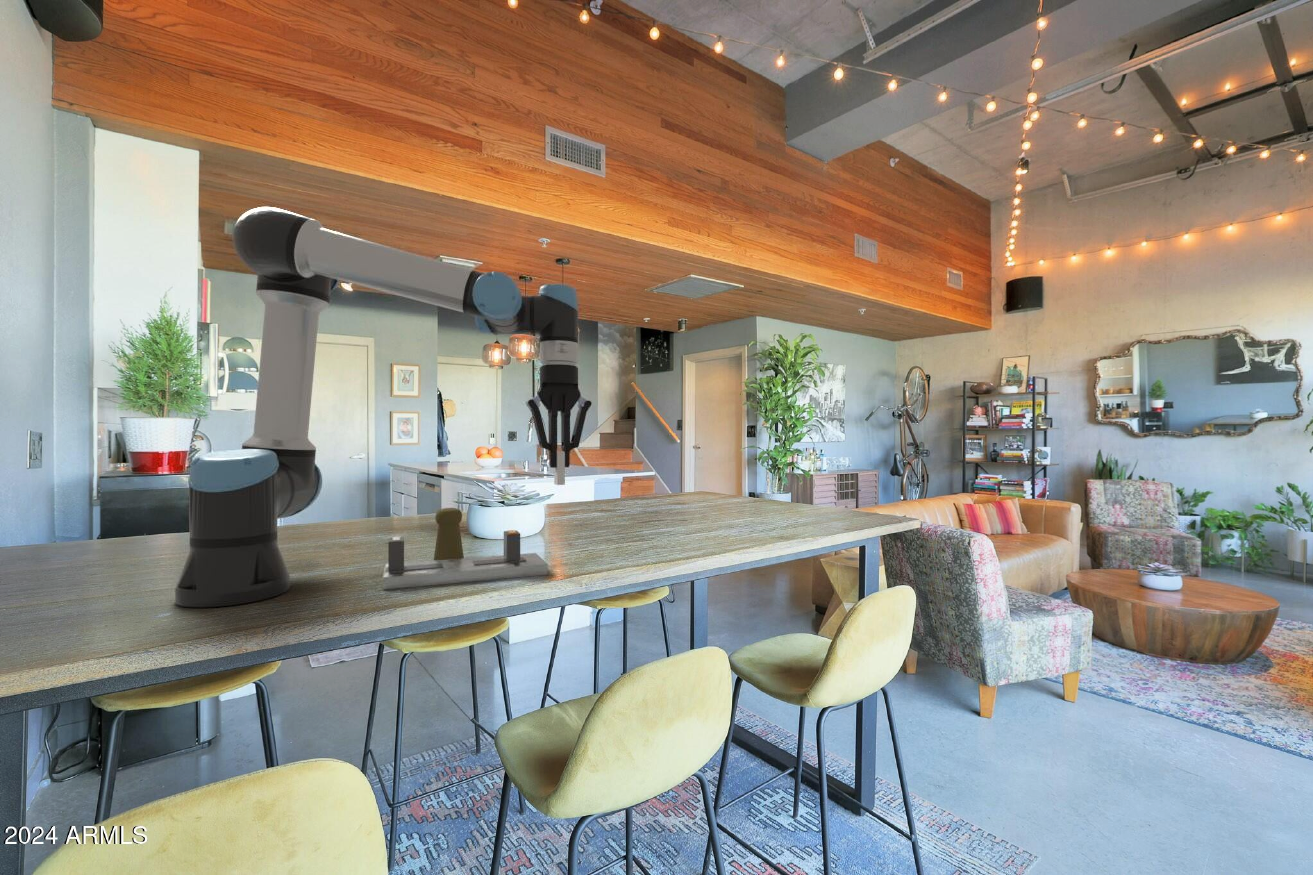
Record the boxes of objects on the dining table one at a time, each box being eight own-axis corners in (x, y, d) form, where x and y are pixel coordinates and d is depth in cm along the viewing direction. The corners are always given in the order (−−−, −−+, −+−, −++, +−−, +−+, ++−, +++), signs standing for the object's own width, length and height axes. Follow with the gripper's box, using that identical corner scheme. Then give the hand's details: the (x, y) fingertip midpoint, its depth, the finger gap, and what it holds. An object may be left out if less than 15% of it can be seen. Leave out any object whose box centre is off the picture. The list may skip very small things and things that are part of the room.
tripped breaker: (506, 561, 111) (506, 533, 111) (503, 556, 114) (503, 530, 114) (520, 559, 112) (520, 532, 112) (516, 555, 115) (516, 529, 115)
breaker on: (388, 570, 103) (388, 540, 103) (389, 565, 106) (389, 537, 106) (403, 569, 104) (404, 539, 104) (404, 564, 107) (404, 536, 107)
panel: (382, 589, 99) (382, 576, 99) (385, 575, 109) (385, 563, 109) (547, 574, 110) (547, 562, 110) (535, 562, 120) (535, 551, 120)
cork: (454, 565, 118) (454, 510, 118) (427, 564, 119) (427, 509, 119) (469, 559, 123) (469, 506, 123) (443, 557, 125) (443, 506, 125)
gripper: (529, 361, 110) (530, 487, 110) (596, 364, 115) (596, 484, 116) (522, 365, 117) (522, 484, 117) (585, 368, 122) (586, 481, 122)
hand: (559, 484), depth 116 cm, fingers closed
